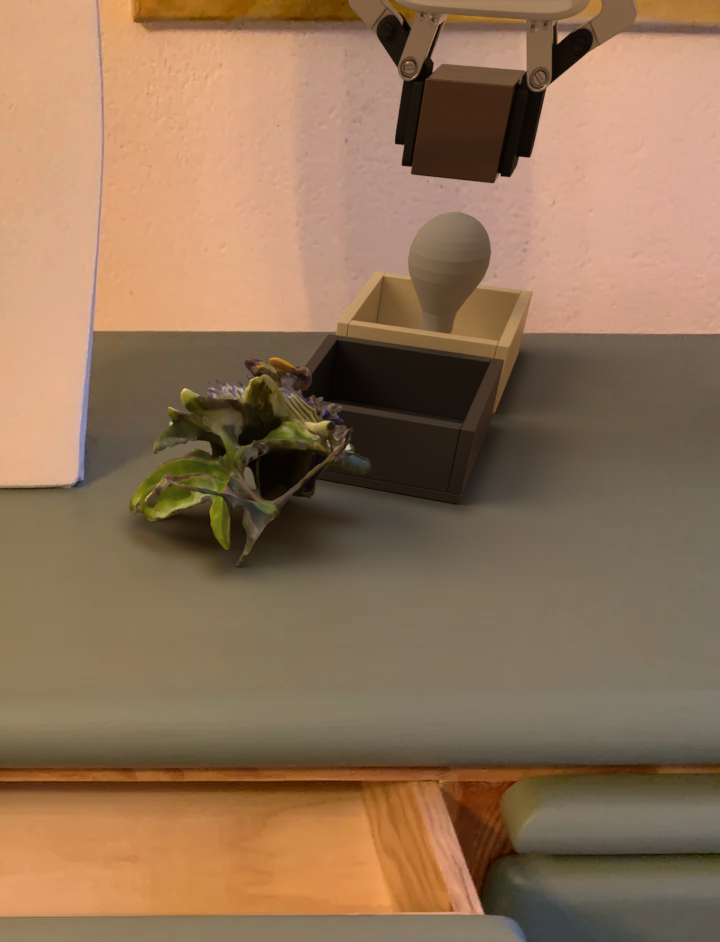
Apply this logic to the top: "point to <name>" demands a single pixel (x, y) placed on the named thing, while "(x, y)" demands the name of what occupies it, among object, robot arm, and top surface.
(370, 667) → the top surface
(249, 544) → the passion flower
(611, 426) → the top surface
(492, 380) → the charcoal bin
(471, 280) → the light bulb
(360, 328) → the cream bin
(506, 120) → the walnut block
